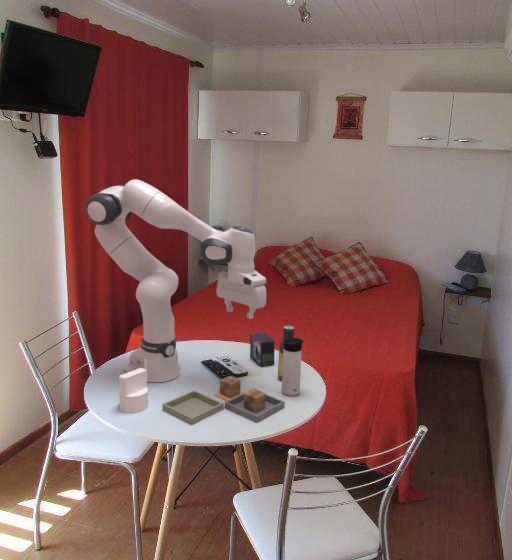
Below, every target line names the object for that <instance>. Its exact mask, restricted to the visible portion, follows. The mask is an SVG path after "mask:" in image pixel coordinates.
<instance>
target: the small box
mask: <svg viewBox="0 0 512 560" xmlns="http://www.w3.org/2000/svg"><path fill="white" fill-rule="evenodd" d="M249 338H250V339H249V359H250V360H252V361H253V362H254V363H255V364H256V365H257V366H258V367H260V368H264V367H265V368H266V367H270V366H274V365H275V346H276V345H275V344H276V343H275V342H276V340H275V339H273V338H272V337H271V336H270V335H268V334H267V333H265V332H256V333H255V332H254V333H250V336H249Z"/></svg>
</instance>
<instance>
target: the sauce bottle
mask: <svg viewBox="0 0 512 560" xmlns="http://www.w3.org/2000/svg"><path fill="white" fill-rule="evenodd" d="M282 330H283V337H282V340H281V341H280V343H279V348H278V349H279V351H278V362H277V363H278V364H277V378H278V380H280V381H282V370H283V348H284V341H285V340H287V339H291V338H295V335H294V334H295V327H294V326H291V325H285V326H283V329H282Z"/></svg>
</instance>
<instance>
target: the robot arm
mask: <svg viewBox="0 0 512 560" xmlns="http://www.w3.org/2000/svg"><path fill="white" fill-rule="evenodd" d="M84 207H85V208H84V210H85V215H86V216H87V218H88V220H89V221H91V223H93V224H95V225H96V226H95V227H94V235H95V237H96V239H97V241H98V242H99V243H100V245H101V247H102V248H103V249H104V251H105V252H106V253H107V254H108V255H109V257H110V258H111V259H112V260H113V261H114V262H115V263H116V265H118V267H119V268H120V269H121V270H122V271H123V272H124V273H125V274H127V275H129V276H131V277H133V278H134V279H136V280H137V281H138V282H139V283H138V285H137V288H136V290H135V298H136V300H137V302H138V303H139V307H140V310H141V314H142V321H143V325H142V326H143V337H141V338H140V339H139V342H141V344H140V346H139V347H138V348H137V349H136V350H134V351H133V352H131V354H130V355H129V362H128V363H126V364H125V365H124V366H123V368H122V370H123V371H124V372H125V373H128V372H131V371H134V370H136V369H139V368H143V369H145V370H147V383H163V382H169V381H172V380H175V379H176V378H178V377H179V376H180V370H181V365H180V364H179V360H178V359H179V358H178V349H177V340H176V335H175V334H176V333H175V316H174V315H173V311H172V306H171V305H172V304H171V297H172V296H173V295H174V294H175V293H176V291H177V290H178V286H179V276H178V274H177V273H176V272H175V271H174V270H173V269H171V268H169V267H167V266H166V265H164V263H162V262H161V261H160V260H159V259H158V258H156V257H155V256H154V255H153V254H152V253H150V252H149V250H147V249H146V248H145V246H144V245H143V243H141V242H140V240H139V239H138V238H137V237H136V236H135V235H134V234H133V233H132V231H131V230H130V229H129V228H128V227H127V225H126V220H129V219H130V217H131V216H132V214H135V215H136V216H138V217H139V218H140V219H142V220H143V221H145V222H146V223H148V224H150V225H152V226H154V227H156V228H159V229H163V230H164V229H165V230H169V229H171V230H178V231H179V230H180V231H183V232H186V233H187V234H189V235H191V236H192V237H194V238H195V239H197V240H199V241H200V242H201V243H200V247H199V254H200V258H201V260H203V262H205V263H206V264H208V265H211V266H217V265H225V264H227V271H225V270H221V272H219V273H218V279H217V284H216V295H217V298H221V299H224V304H225V306H226V312H228V313H232V312H234V306H232V302H233V303H234V302H235V303H238V304H241V305H244V306H248V309H249V312H247V313H246V318H247V319H249V320H252V319H254V313H255V312H256V311H257V309H262V308H264V307H265V306H266V304H267V289H266V286H265V284H267V278H266V277H265V276H263V275H262V274H261V273H259V272H258V271H257V270H255V263H254V262H255V261H254V259H255V256H256V238H255V237H256V236H255V234H254V232H253V231H252V230H251V229H250V228H248V227H246V226H245V227H244V226H241V225H240V226H238V225H236V226H235V225H234V226H231V227H230V228H229V229H227V230H225V229H218V228H215V227H214V226H212V225H210V224H209V223H207V222H206V221H203V220H202V219H201V218H199V217H197V216H196V215H194V214H192V213H190V212H189V211H188V210H186V209H185V208H184V207H182V206H181V205H180V204H178V202H176V201H175V200H173V199H172V198H171V197H169V196H168V195H166V194H165V193H163V192H162V191H161V190H159V189H158V188H156V187H154V186H153V185H151V184H149V183H146V182H145V181H143V180H140V179H138V178H137V179H131V180H129V181H128V182H126V183H125V184H116V185H113V186H110V187H107V188H104V189H103V190H100V191H99V192H98V193H94V194H93V195H92V196H90V197H89V198H88V199H87V201H86V203H85V206H84Z"/></svg>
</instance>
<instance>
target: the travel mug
mask: <svg viewBox="0 0 512 560" xmlns="http://www.w3.org/2000/svg"><path fill="white" fill-rule="evenodd" d="M303 343H304V339H302V338H297V337H294V338H291V339H287V340H285V341H284V348H283V370H282V380H281V394H282V395H283V396H285V397H290V398H294V397H298V396H299V395H300V391H301V371H302V370H301V369H302V353H303V352H302V349H303Z"/></svg>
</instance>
